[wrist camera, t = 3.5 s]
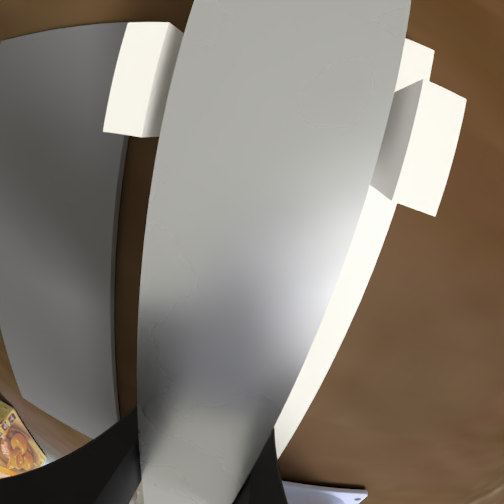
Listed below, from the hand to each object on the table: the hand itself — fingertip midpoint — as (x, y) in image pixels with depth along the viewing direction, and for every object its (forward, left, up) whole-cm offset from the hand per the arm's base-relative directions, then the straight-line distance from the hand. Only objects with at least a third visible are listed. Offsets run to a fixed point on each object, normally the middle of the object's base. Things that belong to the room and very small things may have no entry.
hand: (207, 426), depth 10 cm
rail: (0, 0, 0) cm, 0 cm away
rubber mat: (0, +11, -4) cm, 12 cm away
